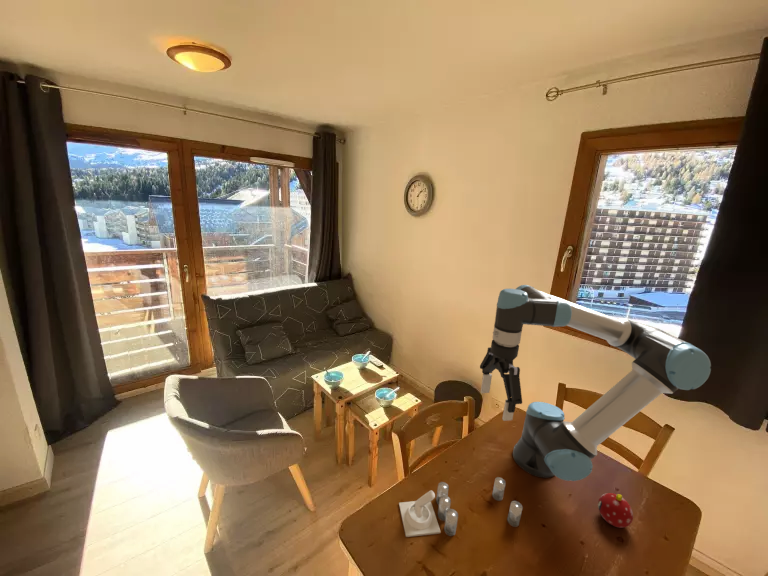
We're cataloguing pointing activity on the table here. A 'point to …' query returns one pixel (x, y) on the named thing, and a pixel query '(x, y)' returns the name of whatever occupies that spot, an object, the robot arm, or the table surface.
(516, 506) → the cylinder
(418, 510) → the hook
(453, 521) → the cylinder
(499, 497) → the cylinder
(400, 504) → the felt pad
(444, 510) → the spacer
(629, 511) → the christmas ornament
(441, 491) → the cylinder
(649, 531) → the table surface
